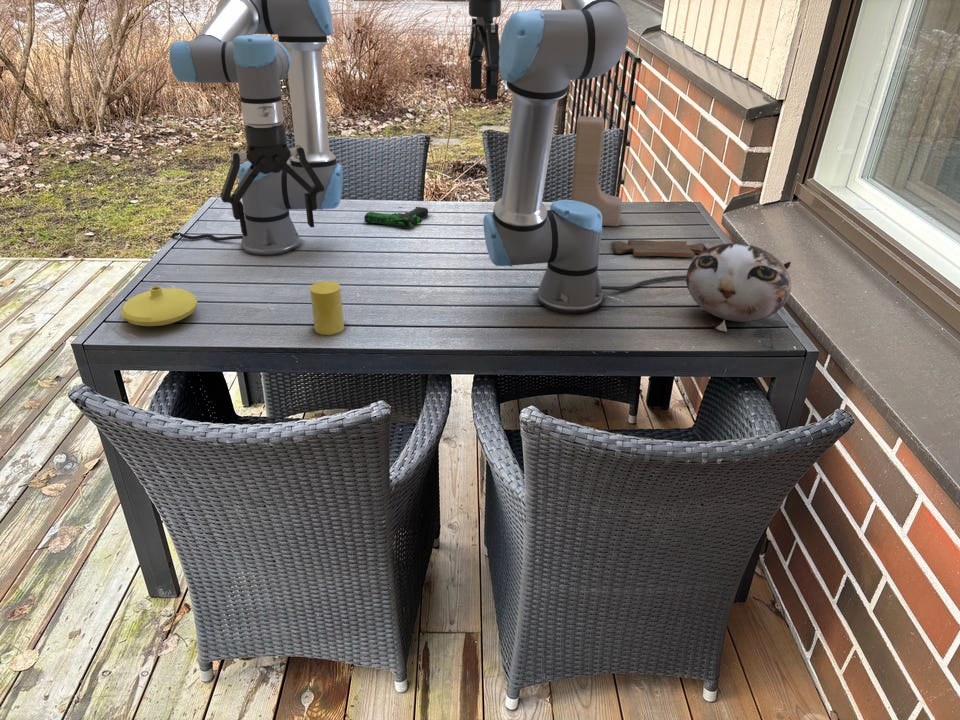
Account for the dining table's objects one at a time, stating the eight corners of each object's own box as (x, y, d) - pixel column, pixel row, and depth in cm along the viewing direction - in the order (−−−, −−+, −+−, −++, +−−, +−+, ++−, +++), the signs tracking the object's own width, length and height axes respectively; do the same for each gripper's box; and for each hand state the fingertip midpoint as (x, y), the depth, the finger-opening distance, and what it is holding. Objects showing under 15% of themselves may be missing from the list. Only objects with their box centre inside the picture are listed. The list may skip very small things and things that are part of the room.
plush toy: (664, 307, 155) (693, 222, 157) (679, 329, 171) (705, 252, 172) (770, 332, 145) (800, 241, 146) (775, 353, 160) (802, 271, 162)
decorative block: (619, 227, 213) (632, 123, 197) (569, 224, 214) (577, 121, 199) (618, 218, 219) (630, 117, 204) (569, 215, 221) (577, 115, 205)
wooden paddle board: (710, 260, 193) (701, 246, 201) (711, 254, 192) (702, 240, 200) (615, 256, 193) (610, 243, 202) (615, 250, 192) (611, 237, 201)
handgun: (434, 207, 218) (411, 221, 205) (434, 217, 219) (411, 231, 207) (387, 201, 223) (362, 214, 211) (387, 210, 224) (363, 224, 212)
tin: (343, 334, 154) (339, 293, 149) (313, 335, 153) (308, 294, 148) (344, 320, 159) (341, 280, 154) (315, 322, 159) (311, 281, 154)
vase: (172, 295, 169) (166, 268, 165) (214, 314, 161) (208, 285, 157) (109, 320, 158) (101, 291, 154) (150, 341, 150) (143, 311, 146)
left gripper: (198, 133, 130) (218, 244, 140) (333, 122, 139) (342, 227, 150) (193, 125, 136) (212, 232, 146) (323, 115, 145) (332, 216, 156)
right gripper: (455, -7, 175) (456, 85, 185) (484, 2, 154) (483, 104, 165) (485, -7, 176) (483, 84, 187) (517, 1, 156) (513, 103, 167)
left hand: (278, 229), depth 148 cm, fingers open, 13 cm apart
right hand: (483, 94), depth 176 cm, fingers open, 13 cm apart
